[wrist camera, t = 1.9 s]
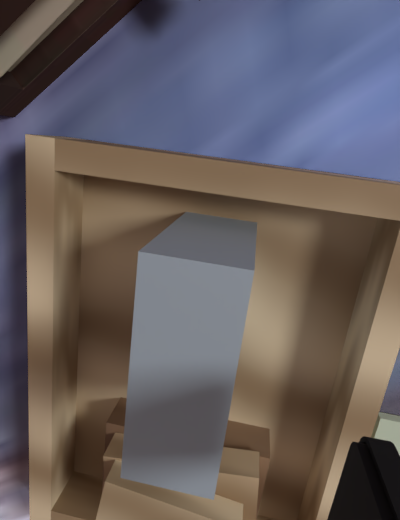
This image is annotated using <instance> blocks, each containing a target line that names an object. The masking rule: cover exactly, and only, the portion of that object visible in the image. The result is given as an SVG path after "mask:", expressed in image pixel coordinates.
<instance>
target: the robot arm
mask: <svg viewBox="0 0 400 520" xmlns="http://www.w3.org/2000/svg"><path fill="white" fill-rule="evenodd" d="M327 520H400V455H399V453H398V451H397V449H396V447H395V445H394V444H393V443H392V442H391V441H386V440H381V439H376V438H371V437H366V436H363V437H362V438H361V439H360V441H359V442H352V443H351V445H350V448H349V451H348V454H347V457H346V461H345V464H344V467H343V470H342V474H341V477H340V480H339V483H338V486H337V490H336V493H335V496H334V499H333V503H332V506H331V509H330V512H329V516H328V519H327Z"/></svg>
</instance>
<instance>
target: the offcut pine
mask: <svg viewBox="0 0 400 520" xmlns="http://www.w3.org/2000/svg"><path fill="white" fill-rule="evenodd" d="M121 464H122V461H119V460H116V459H115V462H114V464H113V466H112V468H111V470H110V472H109V474H108V476H107V479H106V481H105V484H104V488H103V492H102V496H101V500H100V504H99V508H98V512H97V517H96V520H243V504H241V503H239V502H236V501H233V500H230V499H227V498H224V497H222V496H219V495H216V494H215V496H214V500H212V499H208V498H203V497H199V496H195V495H191V494H186V493H182V492H178V491H174V490H170V489H165V488H161V487H157V486H153V485H148V484H144V483H140V482H136V481H132V480H127V479H123V478H120V476H121Z"/></svg>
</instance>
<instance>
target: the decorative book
mask: <svg viewBox="0 0 400 520" xmlns="http://www.w3.org/2000/svg"><path fill="white" fill-rule="evenodd" d="M140 1H142V0H0V115H3V116H10V117H15V116H16V115H18V114H19V113H20V112H21V111H22V110H23V109H24V108H25V107H26V106H27V105H28V104H30V103H31V102H32V101H33V100H34V99H35V98H36V97H37V96H38V95H39V94H40V93H41V92H43V91H44V90H45V89H46V88H47V87H48V86H49V85H50V84H51V83H52V82H53V81H55V80H56V79H57V78H58V77H59V76H60V75H61V74H62V73H63V72H64V71H65V70H66V69H68V68H69V67H70V66H71V65H72V64H73V63H74V62H75V61H76V60H77V59H78V58H80V57H81V56H82V55H83V54H84V53H85V52H86V51H87V50H88V49H89V48H90V47H92V46H93V45H94V44H95V43H96V42H97V41H98V40H99V39H100V38H101V37H102V36H103V35H105V34H106V33H107V32H108V31H109V30H110V29H111V28H112V27H113V26H114V25H115V24H117V23H118V22H119V21H120V20H121V19H122V18H123V17H124V16H125V15H126V14H127V13H129V12H130V11H131V10H132V9H133V8H134V7H135V6H136V5H137V4H138V3H139V2H140ZM199 1H200V0H199Z"/></svg>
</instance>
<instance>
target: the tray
mask: <svg viewBox="0 0 400 520" xmlns="http://www.w3.org/2000/svg"><path fill="white" fill-rule="evenodd" d="M25 145H26V232H27V320H28V407H29V494H30V520H96V517H97V512H98V508H99V504H100V500H101V496H102V483H103V467H104V461H103V455H104V451H105V434H106V422H107V420H108V419H109V417H110V415H111V413H112V412H113V410H114V408H115V406H116V404H117V403H118V401H119V399H120V397H122V398H127V388H128V376H129V363H130V351H131V338H132V326H133V313H134V301H135V288H136V275H137V263H138V251H139V250H141V249H142V248H143V247H144V246H146V245H147V244H148V243H149V242H150V241H152V240H153V239H154V238H155V237H156V236H158V235H159V234H160V233H161V232H162V231H164V230H165V229H166V228H167V227H168V226H170V225H171V224H172V223H173V222H174V221H176V220H177V219H178V218H179V217H180V216H182V215H183V214H184V213H185V212H192V213H198V214H205V215H211V216H218V217H224V218H231V219H237V220H244V221H251V222H257V236H256V253H255V270H254V276H253V282H252V288H251V293H250V299H249V304H248V310H247V316H246V321H245V327H244V333H243V338H242V344H241V350H240V355H239V361H238V367H237V372H236V378H235V383H234V389H233V395H232V400H231V406H230V412H229V417H228V420H230V421H235V422H240V423H245V424H249V425H254V426H259V427H263V428H268V429H269V433H270V462H269V466H268V471H267V475H266V480H265V484H264V489H263V493H262V498H261V502H260V506H259V511H258V515H257V520H327V519H328V516H329V512H330V509H331V506H332V503H333V499H334V496H335V493H336V490H337V486H338V483H339V480H340V477H341V474H342V470H343V467H344V464H345V461H346V457H347V454H348V451H349V448H350V445H351V443H352V442H359V441H360V439H361V438H362V437H363V436H366V437H371V436H372V433H373V429H374V426H375V423H376V420H377V417H378V414H379V410H380V407H381V404H382V401H383V398H384V395H385V392H386V388H387V385H388V382H389V379H390V376H391V373H392V370H393V366H394V363H395V360H396V357H397V354H398V351H399V348H400V182H396V181H388V180H381V179H374V178H366V177H359V176H351V175H344V174H337V173H329V172H322V171H314V170H307V169H300V168H292V167H285V166H277V165H270V164H262V163H255V162H248V161H240V160H233V159H225V158H218V157H211V156H203V155H196V154H188V153H181V152H174V151H166V150H159V149H151V148H144V147H137V146H129V145H122V144H114V143H107V142H99V141H92V140H85V139H77V138H70V137H61V136H45V135H29V134H25Z"/></svg>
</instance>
